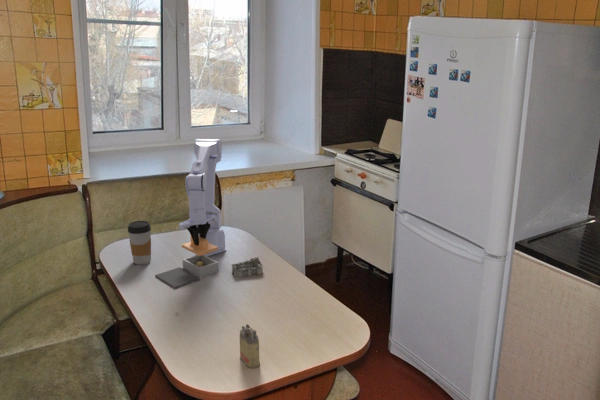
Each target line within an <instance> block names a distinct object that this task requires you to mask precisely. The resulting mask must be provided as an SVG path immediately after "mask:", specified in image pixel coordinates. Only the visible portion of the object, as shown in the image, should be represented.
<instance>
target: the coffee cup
mask: <svg viewBox="0 0 600 400" xmlns="http://www.w3.org/2000/svg"><path fill="white" fill-rule="evenodd" d="M151 231H152V228H151V224H150V222H149V221H148V220H147V221H146V220H135V221H131V222H130V223H129V224H128V227H127V232H128V237H129V244H130V245H129V246H130V251H131V256H132V262H133V263H134V264H135V265H137V266H143V265H148V264H149V263H150V262H151V260H152V236H151V235H152V233H151Z"/></svg>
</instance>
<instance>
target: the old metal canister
mask: <svg viewBox="0 0 600 400" xmlns="http://www.w3.org/2000/svg"><path fill="white" fill-rule="evenodd" d="M239 354H240V355H239V360H241V361H242V362H243V363H244V364H245V365H246V366H247V368H251V369H252V368H253V369H254V368H258V367H259V366H260V365H261V364H260V341H259V336H258V335H257V330H255V329H253V328H251V327H250V325H249V324H248V323H247V324H245V326H244V325H242V326H241V329H240V331H239Z"/></svg>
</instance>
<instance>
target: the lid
mask: <svg viewBox="0 0 600 400" xmlns="http://www.w3.org/2000/svg"><path fill="white" fill-rule="evenodd" d="M181 248H183V249H185V250H187V251H189V252H191V253H192V254H193V255H198V256H202V255H205V254H208V253H211V252H214V251H215V250H218V247H216V246H214V245H212V244H210V243H208V240H206V239H204V238H202V237H200V236H199V245H198V246H197V245H195V244H194V242H193V239H192V237H191V236H190V241H188V242H186V243H181Z"/></svg>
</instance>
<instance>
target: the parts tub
mask: <svg viewBox="0 0 600 400" xmlns="http://www.w3.org/2000/svg"><path fill="white" fill-rule="evenodd" d="M219 266H220V265H219V262H218V261H217V260H215V259H213V258H211V257H210V256H208V257H207V256H205V255H202V256H198V255H196V254H194V255H191V256H189V257H185V258H183V259H182V269H184V270H186V271H188V272H190V273H191V274H193V275H195V276H197V277H198V278H200V279H201V278H203V277H206V276H209V275H212V274H215V273H218V272H219V271H220V270H219V269H220V268H219Z"/></svg>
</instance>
